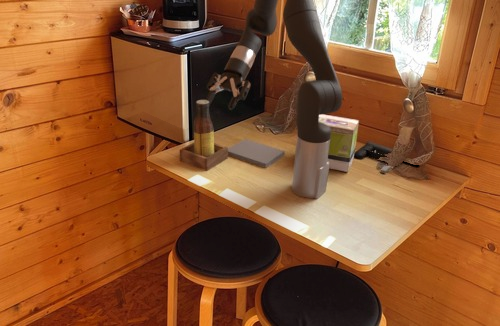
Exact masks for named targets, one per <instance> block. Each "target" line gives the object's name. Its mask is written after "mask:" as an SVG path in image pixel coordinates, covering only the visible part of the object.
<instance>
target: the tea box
mask: <svg viewBox="0 0 500 326" xmlns="http://www.w3.org/2000/svg"><path fill="white" fill-rule="evenodd" d="M319 122H321V123H324V124H326V125H327V126H329V127H330V129H331V138H330V145H329V152H328V160H327V161H328V162H330V165H329V170H330V169H331V170H336V171H340V172H345V173H348V172H349V171H350V168H351V166H352V163H353V161H354V158H355V157H354V153H355V152H356V146H357V138H358V131H359V123H360V120H359V119H353V118H347V117H341V116H335V115H330V114H329V115H328V114H321V115H319Z"/></svg>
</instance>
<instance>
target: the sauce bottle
mask: <svg viewBox="0 0 500 326" xmlns="http://www.w3.org/2000/svg"><path fill="white" fill-rule="evenodd" d="M195 106H196V117H195V118H194V120H193V143H194V146H195V154H198V155H201V156H204V157H208V156H210V155H212V154H213V153H214V143H215V138H214V137H215V134H214V125H213V122H212V120H211V116H210V104H209V101H207V100H206V99H199V100H196V102H195Z"/></svg>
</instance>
